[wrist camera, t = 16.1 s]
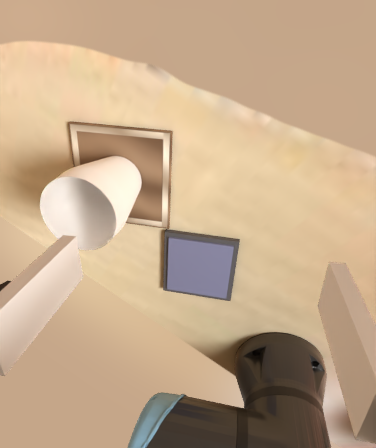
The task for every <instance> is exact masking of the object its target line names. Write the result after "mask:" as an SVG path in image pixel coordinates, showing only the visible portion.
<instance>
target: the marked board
mask: <svg viewBox="0 0 376 448" xmlns="http://www.w3.org/2000/svg"><path fill="white" fill-rule="evenodd" d="M69 130H70V138H71V147H72V155H73V164H74V167H76V166H80V165H83V164H86V163H90V162H93V161H97V160H100V159H104V158H107V157H111V156H120V157H123V158H126V159H128V160H129V161H131V162H132V163H133V164H134V165H135V166H136V167H137V169H138V171H139V173H140V175H141V180H142V184H141V189H140V192H139V194H138V196H137V198H136V201H135V203H134V205H133V207H132V210H131V212H130V214H129V216H128V218H127V221H126V223H130V224H137V225H145V226H152V227H159V228H167V229H169V225H170V193H171V161H172V131H166V130H156V129H145V128H134V127H123V126H113V125H102V124H91V123H81V122H69Z"/></svg>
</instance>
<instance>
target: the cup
mask: <svg viewBox="0 0 376 448" xmlns="http://www.w3.org/2000/svg"><path fill="white" fill-rule="evenodd" d="M141 184H142V180H141V175H140V173H139V171H138V169H137V167H136V166H135V165H134V164H133V163H132V162H131V161H129V160H128V159H126V158H123V157H120V156H111V157H107V158H104V159H100V160H97V161H93V162H90V163H86V164H83V165H80V166H76V167H73V168H71V169H68V170H66V171H65V172H63V173H62V174H61V175H59V176H58V177H57V178H56V179H54V180H53V181H51V182H50V183H49V184H48V185H47V186H46V187H45V188H44V190H43V192H42V194H41V198H40V210H41V214H42V217H43V220H44V222H45V224H46V225H47V227H48V228H49V230H50V231H51V232H52V233H53V234H54V235H55V236H56V237H57V238H58V239H59V238H60V237H62V236H63V235H68V236H76V238H77V244H78V249H81V250H94V249H98V248H101V247H103V246H105V245H106V244H107V243H108V242H109V241H110V240H111V239H112V238H113V237H114V236H115V235H116V234H117V233H118V232H119V231H120V230H121V229H122V228H123V226H124V225H125V223H126V221H127V218H128V216H129V214H130V212H131V210H132V207H133V205H134V203H135V201H136V198H137V196H138V194H139V192H140V189H141Z"/></svg>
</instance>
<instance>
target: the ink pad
mask: <svg viewBox="0 0 376 448" xmlns="http://www.w3.org/2000/svg"><path fill="white" fill-rule="evenodd" d="M239 240H240V239H233V238H226V237H218V236H211V235H204V234H196V233H189V232H182V231H174V230H167V229H166V231H165V245H164V287H163V290H165V291H171V292H177V293H183V294H190V295H196V296H202V297H208V298H214V299H220V300H226V301H230V300H231V293H232V287H233V280H234V274H235V267H236V261H237V254H238V248H239Z"/></svg>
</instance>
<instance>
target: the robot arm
mask: <svg viewBox="0 0 376 448" xmlns="http://www.w3.org/2000/svg"><path fill="white" fill-rule="evenodd" d="M82 278H83V272H82V267H81V261H80V255H79V250H78V244H77V238H76V236H68V235H63V236H62V237H60V238H59V239H58V240H57V241H56V242H55V243H54V244H53V245H51V246H50V247H49V248H48V249H47V250H46V251H45V252H44V253H43V254H42V255H40V256H39V257H38V258H37V259H36V260H35V261H34V262H33V263H31V264H30V265H29V266H28V267H27V268H26V269H25V270H24V271H23V272H21V273H20V274H19V275H18V276H17V277H16V278H15V279H14V280H12V281H6V282H5V283H3V284H0V375H2V376H5V375H6V374H7V373H8V371H9V370H10V369H11V368H12V366H13V365H14V364H15V363H16V361H17V360H18V359H19V358H20V356H21V355H22V354H23V352H24V351H25V350H26V349H27V348H28V346H29V345H30V343H32V341H33V340H34V339H35V337H36V336H37V335H38V334H39V332H40V331H41V330H42V329H43V327H44V326H45V325H46V324H47V322H48V321H49V320H50V319H51V317H52V316H53V315H54V314H55V312H56V311H57V310H58V309H59V307H60V306H61V305H62V304H63V302H64V301H65V300H66V298H67V297H68V296H69V295H70V293H71V292H72V291H73V290H74V288H75V287H76V286H77V285H78V283H79V282H80V281H81V280H82ZM318 309H319V312H320V316H321V320H322V323H323V327H324V330H325V334H326V337H327V341H328V344H329V348H330V351H331V355H332V358H333V362H334V366H335V369H336V373H337V376H338V380H339V383H340V387H341V390H342V394H343V397H344V401H345V404H346V408H347V412H348V415H349V419H350V422H351V426H352V429H353V433H354V436H355V440H360V441H365V442H371V443H376V324H375V322H374V320H373V318H372V316H371V314H370V312H369V310H368V308H367V306H366V304H365V302H364V300H363V298H362V296H361V294H360V292H359V289H358V287H357V285H356V283H355V281H354V279H353V277H352V275H351V273H350V271H349V269H348V267H347V265H346V263H337V262H329V263H328V267H327V271H326V275H325V279H324V283H323V287H322V291H321V295H320V299H319V302H318ZM235 375H236V379H237V382H238V385H239V388H240V391H241V395H242V398H243V401H244V408H239V407H234V406H230V405H225V404H220V403H215V402H210V401H206V400H201V399H196V398H192V397H187V396H186V395H184V394H181V395H176V394H169V393H158V394H155V395H154V396H153V397H152V398H151V399H150V400H149V401H148V403H147V404H146V405H145V407H144V409H143V411H142V412H141V415H140V417H139V419H138V421H137V424H136V426H135V428H134V431H133V433H132V436H131V439H130V442H129V445H128V448H331V445H330V440H329V436H328V431H327V427H326V422H325V418H324V413H323V408H322V406H323V399H324V392H325V385H326V369H325V365H324V361H323V358H322V355H321V354H320V352H319V351H318V350H317V348H316V347H315V346H313V345H312V344H311V343H309V342H308V341H306V340H304V339H302V338H300V337H297V336H294V335H290V334H284V333H268V334H262V335H258V336H255V337H253V338H251V339H249V340H247V341H246V342H245V343H243V344H242V345H241V347H240V348H239V349H238V351H237V353H236V357H235Z"/></svg>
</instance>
